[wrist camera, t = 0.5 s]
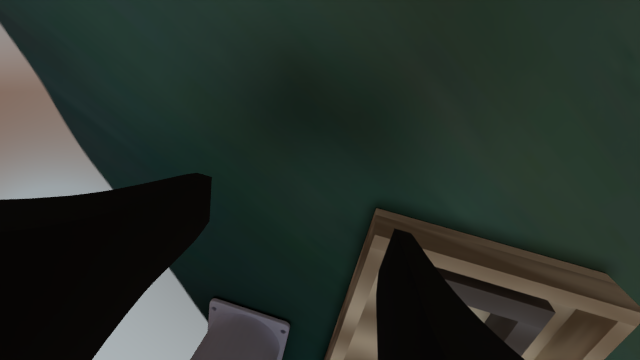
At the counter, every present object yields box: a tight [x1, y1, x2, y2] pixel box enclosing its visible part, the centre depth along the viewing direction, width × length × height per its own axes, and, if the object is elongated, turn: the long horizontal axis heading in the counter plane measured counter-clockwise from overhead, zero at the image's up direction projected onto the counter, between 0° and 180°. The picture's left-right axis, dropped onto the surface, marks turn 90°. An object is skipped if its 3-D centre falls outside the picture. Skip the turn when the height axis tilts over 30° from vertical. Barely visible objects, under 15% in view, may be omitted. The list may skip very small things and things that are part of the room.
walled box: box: [324, 208, 640, 360], centre depth 23 cm, size 20×16×4 cm
